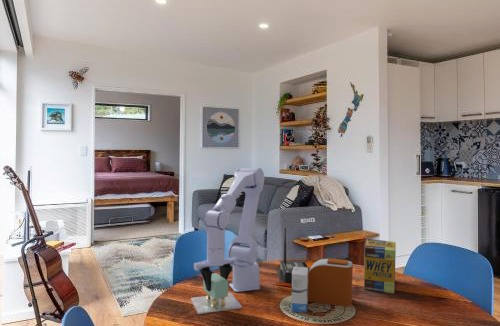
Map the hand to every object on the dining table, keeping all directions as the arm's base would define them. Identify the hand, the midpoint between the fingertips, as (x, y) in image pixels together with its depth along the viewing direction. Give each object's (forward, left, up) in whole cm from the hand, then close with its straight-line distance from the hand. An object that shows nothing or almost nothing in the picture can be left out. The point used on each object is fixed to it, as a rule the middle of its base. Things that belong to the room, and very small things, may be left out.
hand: (215, 288), depth 120 cm
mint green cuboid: (0, 0, -2) cm, 2 cm away
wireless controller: (-38, -19, -5) cm, 43 cm away
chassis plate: (0, 0, -5) cm, 5 cm away
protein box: (-63, +3, -5) cm, 63 cm away
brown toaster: (-37, +9, -5) cm, 38 cm away
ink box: (-25, +11, -5) cm, 28 cm away
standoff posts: (0, 0, -5) cm, 5 cm away
